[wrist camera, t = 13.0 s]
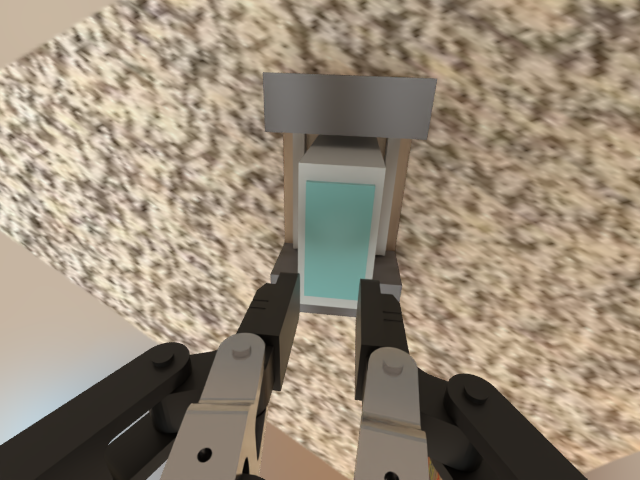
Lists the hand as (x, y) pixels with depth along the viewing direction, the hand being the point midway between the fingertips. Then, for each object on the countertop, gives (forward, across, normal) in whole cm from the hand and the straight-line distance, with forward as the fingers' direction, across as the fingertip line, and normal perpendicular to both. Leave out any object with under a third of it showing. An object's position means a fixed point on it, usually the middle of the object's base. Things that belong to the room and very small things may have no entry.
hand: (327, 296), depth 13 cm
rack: (+15, 0, 0) cm, 15 cm away
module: (+14, 0, 0) cm, 14 cm away
